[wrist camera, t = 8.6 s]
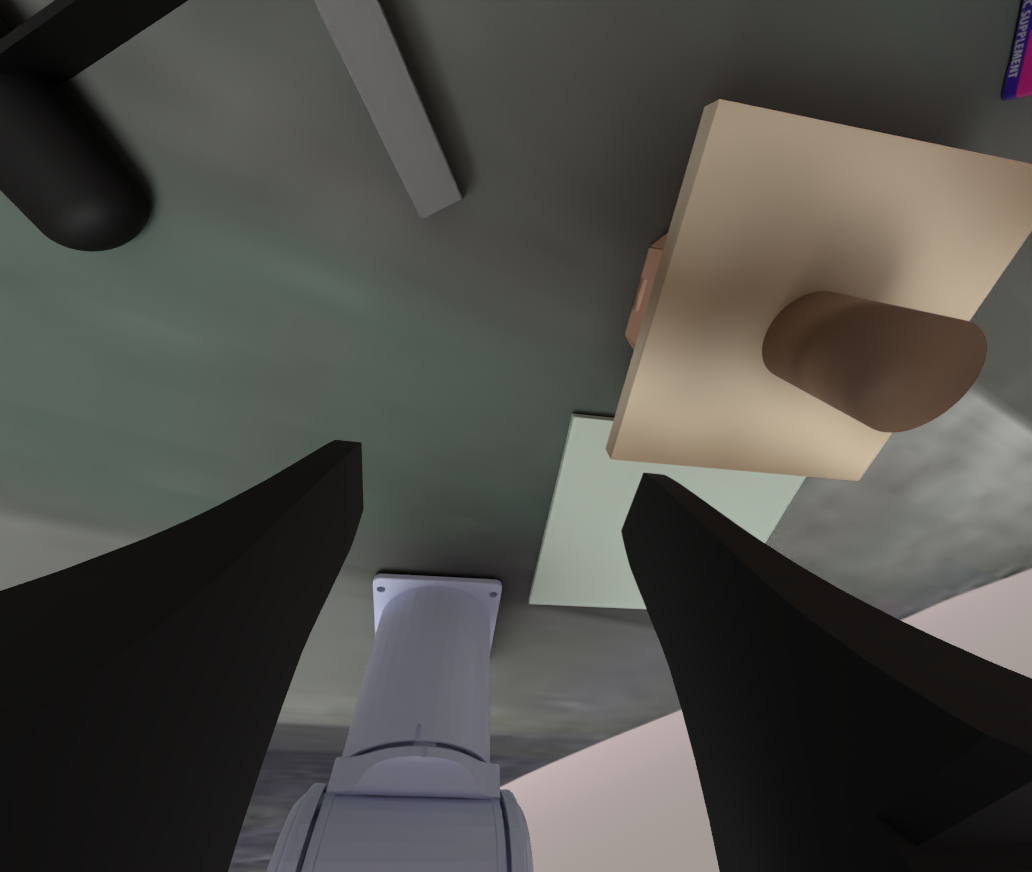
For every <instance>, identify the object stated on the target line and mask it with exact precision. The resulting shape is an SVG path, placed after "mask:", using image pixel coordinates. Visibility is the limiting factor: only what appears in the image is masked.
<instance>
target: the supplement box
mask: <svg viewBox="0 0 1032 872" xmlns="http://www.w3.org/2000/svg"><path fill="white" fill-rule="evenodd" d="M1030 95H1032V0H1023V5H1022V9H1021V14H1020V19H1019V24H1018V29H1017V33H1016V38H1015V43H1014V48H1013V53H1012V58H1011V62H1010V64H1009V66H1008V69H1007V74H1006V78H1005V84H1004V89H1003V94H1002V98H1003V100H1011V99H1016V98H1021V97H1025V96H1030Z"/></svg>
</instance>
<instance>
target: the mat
mask: <svg viewBox="0 0 1032 872" xmlns="http://www.w3.org/2000/svg"><path fill="white" fill-rule="evenodd" d="M613 421H614V418H611V417H601V416H592V415H583V414H573V413H572V417H571V421H570V425H569V430H568V434H567V438H566V442H565V446H564V451H563V455H562V459H561V463H560V468H559V472H558V476H557V480H556V484H555V489H554V493H553V497H552V501H551V505H550V510H549V514H548V518H547V522H546V527H545V531H544V535H543V539H542V543H541V548H540V552H539V556H538V560H537V565H536V569H535V573H534V577H533V581H532V586H531V590H530V594H529V598H528V600H529V604H540V605H563V606H585V607H608V608H630V609H646V606H645V604H644V601H643V599H642V596H641V594H640V591H639V589H638V586H637V584H636V581H635V579H634V576H633V574H632V571H631V568H630V566H629V562H628V558H627V554H626V551H625V546H624V542H623V537H622V533H621V530H622V527H623V525H624V522H625V519H626V517H627V514H628V512H629V509H630V506H631V504H632V501H633V499H634V496H635V493H636V491H637V488H638V485H639V483H640V480H641V478H642V475H643V472H644V473H653V474H663V475H666V476H668V477H670V478H672V479H673V480H675V481H676V482H678V483H680V484H681V485H683V486H684V487H685V488H687V489H688V490H690V491H691V492H693V493H694V494H695V495H697V496H698V497H700V498H701V499H702V500H704V501H705V502H706V503H708V504H709V505H711V506H712V507H713V508H715V509H716V510H718V511H719V512H720V513H722V514H723V515H724V516H726V517H727V518H729V519H730V520H731V521H733V522H734V523H736V524H737V525H739V526H740V527H741V528H743V529H744V530H746V531H747V532H749V533H750V534H752V535H753V536H754V537H756V538H757V539H759V540H760V541H762V542H763V543H766V541H767V540H768V538H769V536H770V535H771V533H772V531H773V530H774V528H775V527H776V525H777V523H778V522H779V520H780V518H781V517H782V515H783V514H784V512H785V510H786V509H787V507H788V505H789V504H790V502H791V500H792V499H793V497H794V496H795V494H796V492H797V491H798V489H799V487H800V486H801V484H802V483H803V481H804V479H805V478H806V476H795V475H784V474H772V473H761V472H749V471H738V470H726V469H715V468H703V467H692V466H680V465H669V464H657V463H646V462H634V461H623V460H611V459H610V457H609V455H608V453H607V451H606V449H605V448H606V445H607V442H608V438H609V435H610V431H611V428H612V424H613Z"/></svg>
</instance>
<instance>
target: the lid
mask: <svg viewBox="0 0 1032 872" xmlns="http://www.w3.org/2000/svg"><path fill="white" fill-rule="evenodd" d="M1031 231H1032V164H1029V163H1024V162H1020V161H1015V160H1010V159H1005V158H1001V157H996V156H991V155H986V154H981V153H977V152H972V151H967V150H962V149H957V148H953V147H948V146H943V145H938V144H933V143H929V142H924V141H919V140H914V139H909V138H905V137H900V136H895V135H890V134H885V133H881V132H876V131H871V130H866V129H861V128H857V127H852V126H847V125H842V124H837V123H833V122H828V121H823V120H818V119H813V118H809V117H804V116H799V115H794V114H789V113H785V112H780V111H775V110H770V109H766V108H761V107H756V106H751V105H746V104H742V103H737V102H732V101H727V100H722V99H718V100H717V101H715V102H713V103H711V104H709V105H707V106H705V107H704V110H703V114H702V117H701V121H700V124H699V127H698V131H697V134H696V138H695V141H694V145H693V148H692V152H691V155H690V159H689V162H688V165H687V169H686V172H685V176H684V179H683V183H682V186H681V190H680V193H679V197H678V200H677V203H676V207H675V210H674V214H673V217H672V221H671V224H670V228H669V231H668V234H667V238H666V241H665V245H664V248H663V252H662V255H661V259H660V262H659V266H658V269H657V272H656V276H655V279H654V283H653V286H652V290H651V293H650V297H649V300H648V303H647V307H646V310H645V314H644V317H643V321H642V324H641V328H640V331H639V335H638V338H637V341H636V345H635V348H634V352H633V355H632V359H631V362H630V366H629V369H628V373H627V376H626V379H625V383H624V386H623V390H622V393H621V397H620V400H619V404H618V407H617V410H616V414H615V417H614V421H613V424H612V428H611V431H610V435H609V438H608V442H607V445H606V448H605V449H606V451H607V453H608V455H609V457H610V459H611V460H623V461H634V462H646V463H657V464H669V465H680V466H692V467H703V468H715V469H726V470H738V471H749V472H761V473H772V474H784V475H795V476H807V477H818V478H830V479H841V480H852V481H859V480H860V479H861V477H862V476H863V475H864V473H865V472H866V470H867V469H868V467H869V466H870V464H871V463H872V461H873V460H874V459H875V457H876V456H877V454H878V453H879V451H880V450H881V448H882V447H883V446H884V444H885V443H886V441H887V440H888V438H889V437H890V435H891V434H892V432H901V431H906V430H910V429H913V428H916V427H919V426H921V425H923V424H926V423H928V422H930V421H931V420H933V419H935V418H937V417H938V416H940V415H941V414H943V413H944V412H946V411H947V410H948V409H949V408H951V407H952V406H953V405H954V404H955V403H957V402H958V401H959V400H960V399H961V398H962V397H963V396H964V395H965V394H966V392H967V391H968V390H969V389H970V387H971V386H972V385H973V383H974V382H975V380H976V379H977V377H978V375H979V373H980V372H981V369H982V367H983V365H984V361H985V358H986V352H987V343H986V338H985V336H984V334H983V332H982V331H981V329H980V328H979V327H978V326H976V325H975V324H974V323H971V322H969V321H970V319H971V318H972V316H973V315H974V314H975V312H976V311H977V309H978V308H979V306H980V305H981V303H982V302H983V301H984V299H985V298H986V296H987V295H988V293H989V292H990V290H991V289H992V287H993V286H994V285H995V283H996V282H997V280H998V279H999V277H1000V276H1001V274H1002V273H1003V272H1004V270H1005V269H1006V267H1007V266H1008V264H1009V263H1010V261H1011V260H1012V258H1013V257H1014V256H1015V254H1016V253H1017V251H1018V250H1019V248H1020V247H1021V245H1022V244H1023V243H1024V241H1025V240H1026V238H1027V237H1028V235H1029V234H1030V232H1031Z"/></svg>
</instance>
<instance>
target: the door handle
mask: <svg viewBox="0 0 1032 872" xmlns="http://www.w3.org/2000/svg"><path fill="white" fill-rule="evenodd" d="M186 1H188V0H55V1H53V2H52V3H51V4H49V5H48V6H46V7H45V8H44V9H42V10H41V11H39V12H38V13H37V14H35V15H34V16H32V17H31V18H30V19H28V20H27V21H25V22H24V23H23V24H21V25H20V26H18V27H17V28H15V29H14V30H13V31H11V30H10V29H9V27H8V26H7V25H6V24H5V23H4V21H3V20H2V19H1V18H0V190H1V191H2V192H3V193H4V194H5V195H6V196H7V197H8V198H9V199H10V200H11V201H12V202H13V203H14V204H15V205H16V206H17V207H18V209H19V210H20V211H21V212H22V213H23V214H24V215H25V216H26V217H27V218H28V219H29V220H30V221H31V222H32V223H33V224H34V225H35V226H36V227H37V228H38V229H39V230H40V231H41V232H42V233H43V234H44V235H46V236H47V237H48V238H50V239H51V240H53V241H54V242H56V243H58V244H60V245H63V246H65V247H68V248H72V249H76V250H82V251H104V250H109V249H113V248H116V247H119V246H122V245H124V244H126V243H127V242H129V241H131V240H132V239H133V238H134V237H136V236H137V235H138V234H139V232H140V231H141V230H142V228H143V227H144V225H145V223H146V220H147V215H148V206H147V202H146V199H145V196H144V194H143V192H142V191H141V189H140V188H139V187H138V186H137V184H136V183H135V182H134V181H133V179H132V178H131V177H130V176H129V175H128V173H127V172H126V171H125V170H124V168H123V167H122V166H121V165H120V164H119V162H118V161H117V160H116V159H115V157H114V156H113V155H112V154H111V152H110V151H109V150H108V149H107V148H106V146H105V145H104V144H103V143H102V141H101V140H100V139H99V138H98V137H97V135H96V134H95V133H94V132H93V130H92V129H91V128H90V127H89V126H88V124H87V123H86V122H85V121H84V119H83V118H82V117H81V116H80V114H79V113H78V112H77V111H76V110H75V108H74V107H73V106H72V105H71V103H70V102H69V101H68V100H67V99H66V97H65V96H64V95H63V94H62V92H61V91H60V90H59V89H58V87H59V86H61V85H62V84H63V83H65V82H66V81H68V80H69V79H71V78H72V77H74V76H75V75H77V74H78V73H80V72H81V71H83V70H84V69H86V68H87V67H89V66H90V65H92V64H93V63H95V62H96V61H98V60H99V59H101V58H102V57H104V56H105V55H107V54H108V53H110V52H111V51H113V50H114V49H116V48H117V47H119V46H120V45H122V44H123V43H125V42H126V41H128V40H129V39H131V38H132V37H134V36H135V35H137V34H138V33H140V32H141V31H143V30H144V29H146V28H147V27H149V26H150V25H152V24H153V23H155V22H156V21H158V20H159V19H161V18H162V17H164V16H165V15H167V14H168V13H170V12H171V11H173V10H174V9H176V8H177V7H179V6H180V5H182V4H183V3H185V2H186ZM314 2H315V4H316V6H317V8H318V10H319V12H320V14H321V16H322V18H323V20H324V23H325V25H326V27H327V29H328V31H329V33H330V35H331V37H332V39H333V41H334V43H335V45H336V47H337V49H338V51H339V53H340V55H341V57H342V59H343V61H344V63H345V65H346V67H347V70H348V72H349V74H350V76H351V78H352V80H353V82H354V84H355V86H356V88H357V90H358V92H359V94H360V96H361V98H362V100H363V102H364V104H365V106H366V108H367V110H368V112H369V114H370V116H371V119H372V121H373V123H374V125H375V127H376V129H377V131H378V133H379V135H380V137H381V139H382V141H383V143H384V145H385V147H386V149H387V151H388V153H389V155H390V157H391V159H392V161H393V163H394V166H395V168H396V170H397V172H398V174H399V176H400V178H401V180H402V182H403V184H404V186H405V188H406V190H407V192H408V194H409V196H410V198H411V200H412V202H413V204H414V206H415V208H416V210H417V212H418V215H419V217H420V219H421V220H422V219H424V218H426V217H428V216H430V215H432V214H434V213H436V212H438V211H440V210H442V209H444V208H446V207H448V206H450V205H452V204H454V203H456V202H458V201H460V200H462V199H463V197H462V195H461V192H460V190H459V188H458V185H457V183H456V180H455V178H454V176H453V173H452V171H451V169H450V166H449V164H448V162H447V159H446V157H445V154H444V152H443V150H442V147H441V145H440V143H439V140H438V138H437V135H436V133H435V131H434V128H433V126H432V124H431V121H430V119H429V117H428V114H427V112H426V109H425V107H424V105H423V102H422V100H421V98H420V95H419V93H418V90H417V88H416V86H415V83H414V81H413V79H412V76H411V74H410V72H409V69H408V67H407V64H406V62H405V60H404V57H403V55H402V53H401V50H400V48H399V45H398V43H397V41H396V38H395V36H394V34H393V31H392V29H391V27H390V24H389V22H388V19H387V17H386V15H385V12H384V10H383V8H382V5H381V3H380V0H314Z"/></svg>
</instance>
